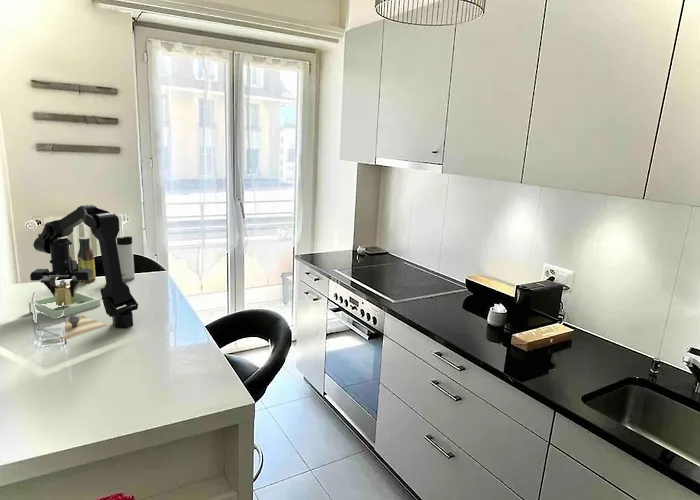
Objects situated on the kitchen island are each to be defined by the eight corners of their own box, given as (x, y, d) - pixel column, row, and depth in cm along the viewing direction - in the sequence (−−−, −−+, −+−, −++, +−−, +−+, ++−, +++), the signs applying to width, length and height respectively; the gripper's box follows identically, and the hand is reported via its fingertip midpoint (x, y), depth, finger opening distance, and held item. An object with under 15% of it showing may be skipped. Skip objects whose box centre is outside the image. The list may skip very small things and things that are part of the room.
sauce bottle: (80, 279, 200) (76, 236, 195) (96, 278, 203) (92, 235, 198) (78, 284, 194) (74, 239, 190) (95, 283, 197) (91, 238, 192)
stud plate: (107, 328, 154) (106, 313, 153) (66, 343, 142) (64, 327, 141) (83, 319, 160) (81, 304, 159) (41, 332, 148) (39, 317, 147)
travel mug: (124, 282, 200) (121, 238, 195) (116, 278, 204) (113, 235, 199) (137, 279, 205) (135, 236, 200) (130, 276, 209) (127, 234, 204)
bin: (100, 309, 170) (100, 299, 169) (55, 323, 156) (54, 312, 155) (74, 299, 178) (73, 290, 177) (29, 312, 163) (28, 302, 162)
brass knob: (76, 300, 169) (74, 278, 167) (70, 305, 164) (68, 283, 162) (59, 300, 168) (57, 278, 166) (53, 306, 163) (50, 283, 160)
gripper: (96, 250, 171) (99, 289, 175) (41, 250, 167) (45, 289, 171) (85, 258, 161) (89, 299, 164) (27, 258, 157) (32, 300, 161)
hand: (64, 296), depth 165 cm, fingers closed on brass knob, 5 cm apart
